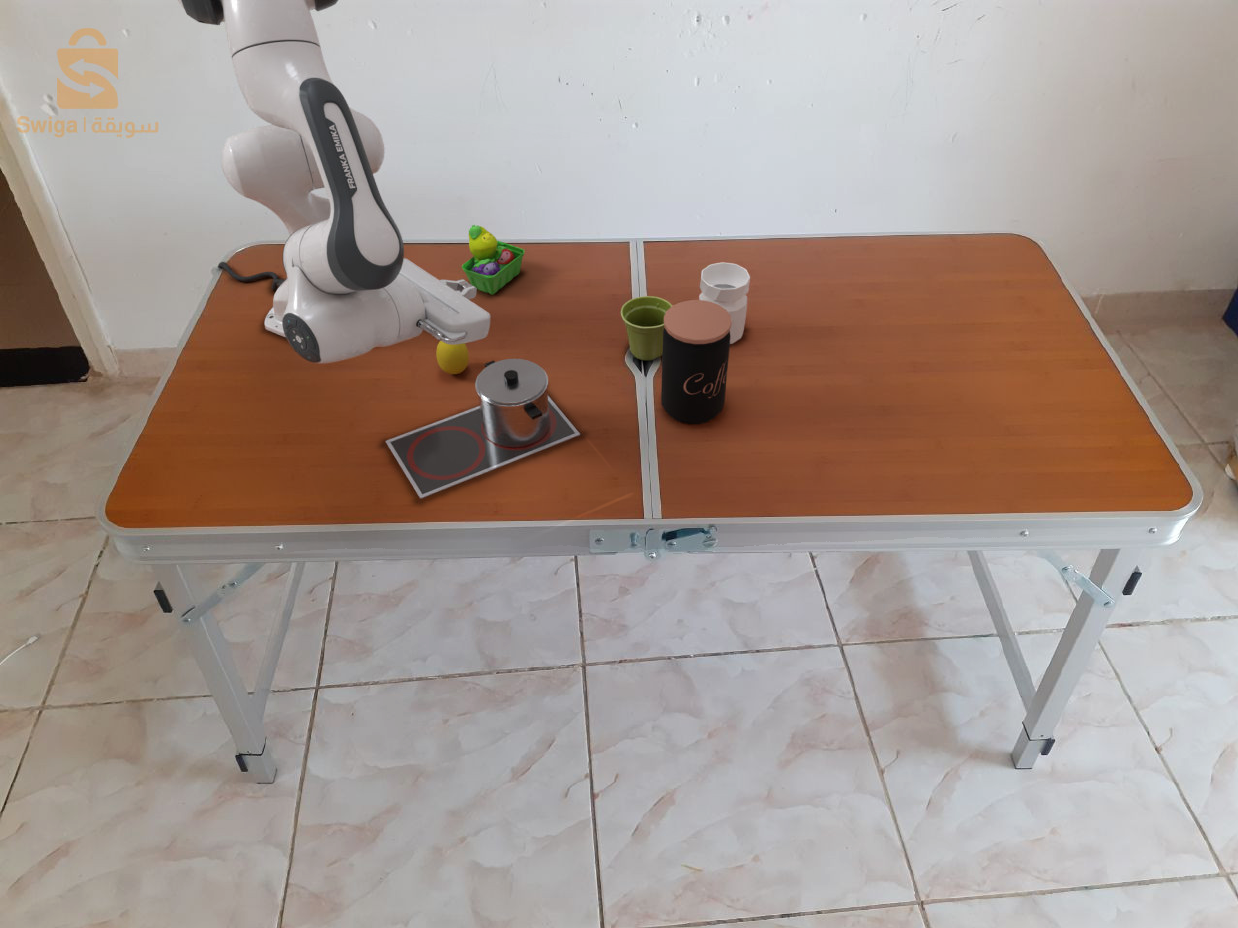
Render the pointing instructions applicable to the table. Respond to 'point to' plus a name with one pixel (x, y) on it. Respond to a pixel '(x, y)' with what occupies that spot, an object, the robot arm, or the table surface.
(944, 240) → the table surface
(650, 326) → the plant pot
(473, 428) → the hob
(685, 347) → the coffee jar
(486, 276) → the fruit basket
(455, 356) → the lemon
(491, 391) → the steel pot
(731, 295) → the vase
